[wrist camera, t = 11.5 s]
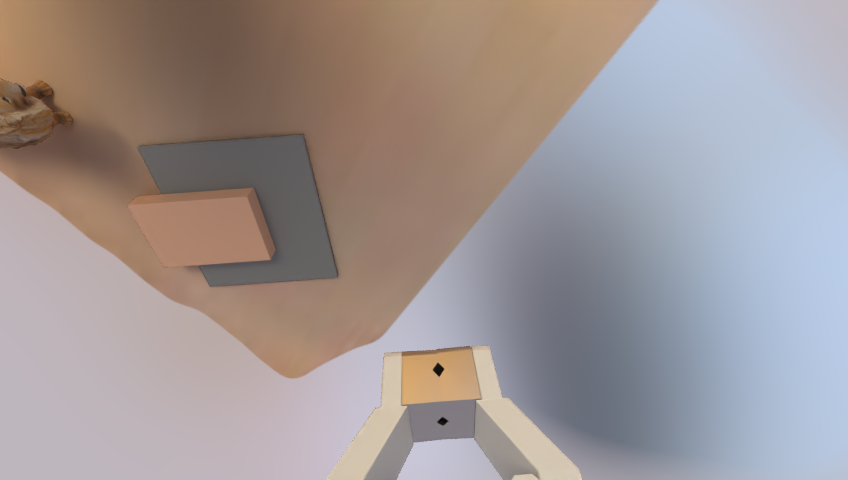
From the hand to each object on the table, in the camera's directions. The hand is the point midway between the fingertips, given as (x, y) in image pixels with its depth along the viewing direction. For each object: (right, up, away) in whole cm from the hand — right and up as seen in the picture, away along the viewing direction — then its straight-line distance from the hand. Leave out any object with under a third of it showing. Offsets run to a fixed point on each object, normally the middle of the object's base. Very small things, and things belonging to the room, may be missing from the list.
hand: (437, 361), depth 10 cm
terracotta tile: (-18, +5, +29) cm, 34 cm away
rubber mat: (-20, +6, +30) cm, 36 cm away
